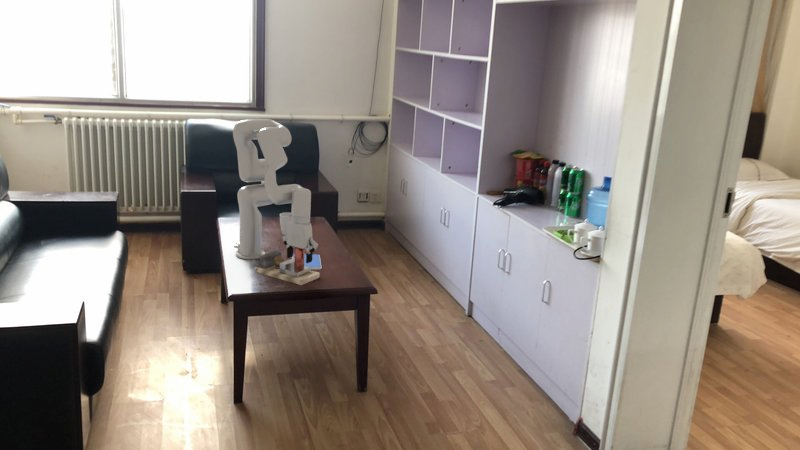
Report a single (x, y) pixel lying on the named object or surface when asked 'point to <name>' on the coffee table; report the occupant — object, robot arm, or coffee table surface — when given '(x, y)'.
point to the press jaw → (295, 264)
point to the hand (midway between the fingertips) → (299, 259)
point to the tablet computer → (313, 262)
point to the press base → (272, 268)
